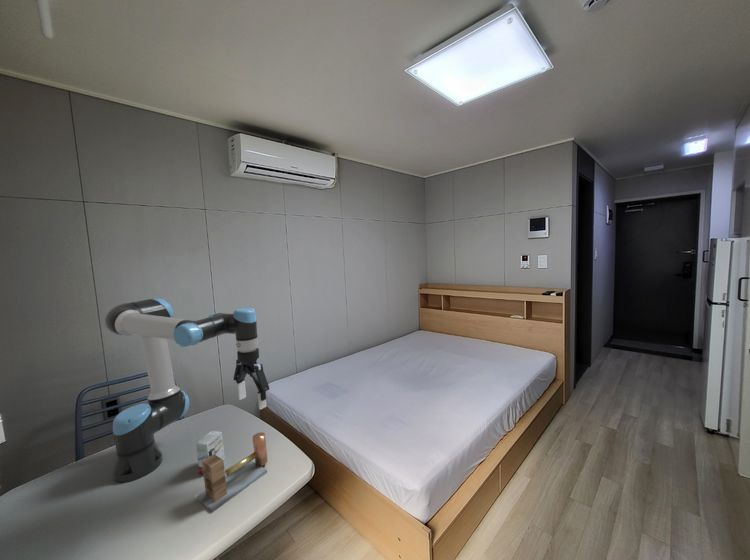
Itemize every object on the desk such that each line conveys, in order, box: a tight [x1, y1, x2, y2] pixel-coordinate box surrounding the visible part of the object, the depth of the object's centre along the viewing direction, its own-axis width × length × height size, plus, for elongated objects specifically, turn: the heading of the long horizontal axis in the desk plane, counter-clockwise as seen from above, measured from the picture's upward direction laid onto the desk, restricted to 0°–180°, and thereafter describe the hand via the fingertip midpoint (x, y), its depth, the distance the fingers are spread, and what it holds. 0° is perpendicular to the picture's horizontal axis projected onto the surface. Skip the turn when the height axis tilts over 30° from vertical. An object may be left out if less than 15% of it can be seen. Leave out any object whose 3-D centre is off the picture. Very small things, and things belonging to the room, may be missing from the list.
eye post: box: [196, 454, 268, 513], centre depth 105 cm, size 10×20×13 cm, turn 145°
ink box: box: [195, 430, 226, 474], centre depth 116 cm, size 9×5×12 cm, turn 168°
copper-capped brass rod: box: [224, 432, 269, 477], centre depth 109 cm, size 4×15×11 cm, turn 145°
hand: (252, 403), depth 115 cm, fingers open, 13 cm apart
